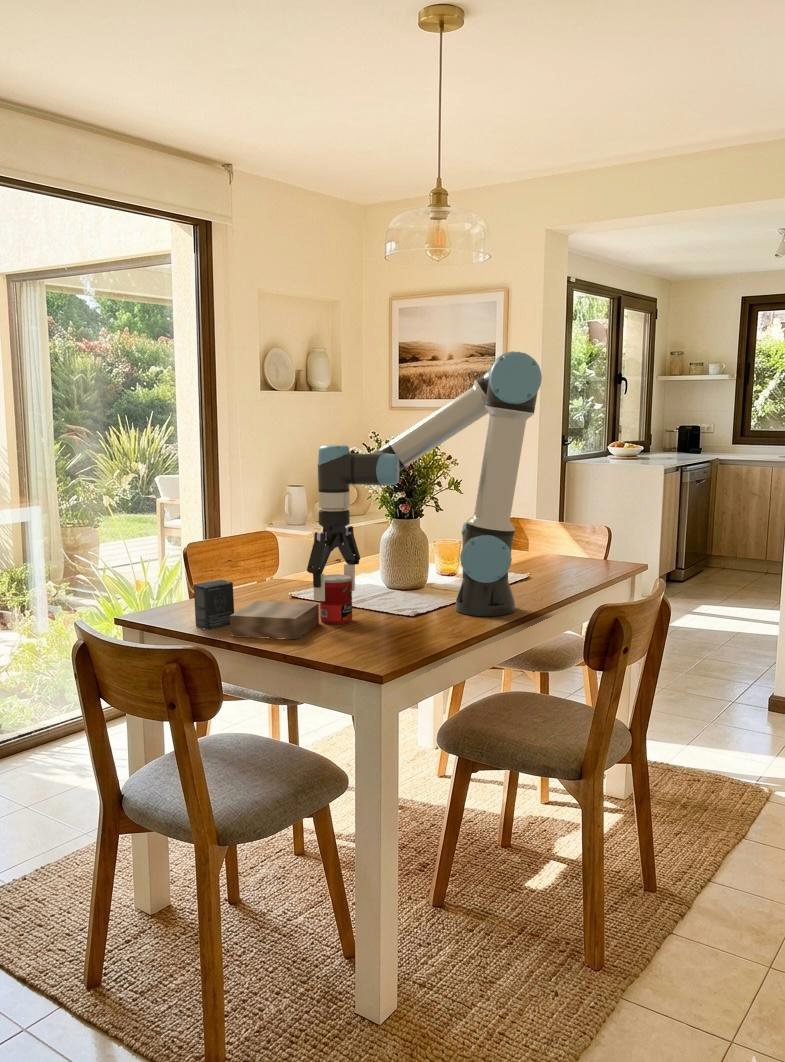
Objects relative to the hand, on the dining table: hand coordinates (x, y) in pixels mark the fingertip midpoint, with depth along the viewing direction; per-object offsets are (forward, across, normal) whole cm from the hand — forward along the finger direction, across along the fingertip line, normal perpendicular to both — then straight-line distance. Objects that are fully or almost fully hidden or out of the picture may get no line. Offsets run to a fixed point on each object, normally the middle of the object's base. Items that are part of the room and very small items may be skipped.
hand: (334, 595), depth 224 cm
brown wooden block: (+7, +14, -8) cm, 17 cm away
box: (+7, +17, -24) cm, 30 cm away
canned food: (+7, 0, 0) cm, 7 cm away
